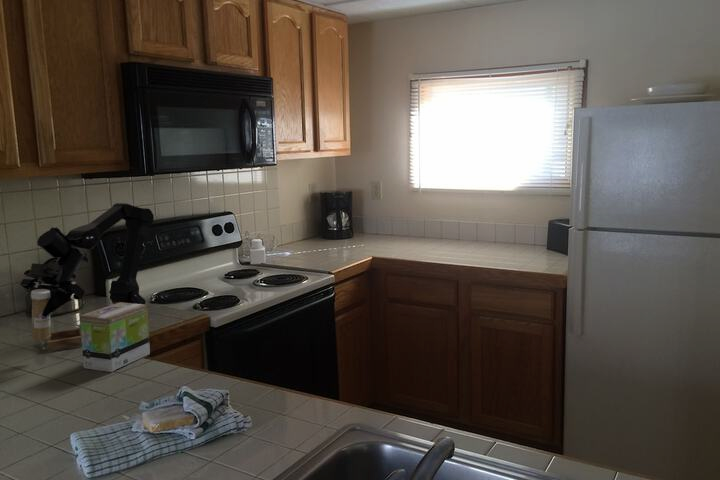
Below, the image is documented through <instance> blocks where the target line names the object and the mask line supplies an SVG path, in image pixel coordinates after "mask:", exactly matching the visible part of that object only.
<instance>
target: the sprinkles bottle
mask: <svg viewBox="0 0 720 480" xmlns="http://www.w3.org/2000/svg"><path fill="white" fill-rule="evenodd" d="M50 297H51V291H49V290H48V289H36V290H33V291H31V293H30V299H31V301H32V315H31V323H32V324H31V326H32V339H33V340H36V341H44V340H45V341H46V339H48V338H50V337H51V334H50V333H51V313H50V314H49V315H47V316H46V317H44V316H43V315H42V313H43V311H44V309H45V307H46V305H47V303H48V301H49V299H50Z"/></svg>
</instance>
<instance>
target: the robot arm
mask: <svg viewBox="0 0 720 480" xmlns="http://www.w3.org/2000/svg"><path fill="white" fill-rule="evenodd" d="M154 219H155V218H154V213H153V211H152V210H151V209H150V208H146V207H145V208H144V207H143V208H142V207H138V206H135V205H132V204H129V203H127V202H126V203H125V202H120V203H119V202H117V203H114V204H113V205H112V206H111V207H110V208H108V209H107V210H106V211H105V212H103V213H102V214H100V215H99V216H98V217H96V218H95V219H94V220H92V221H91V222H89V223H86V224H84V225H81V226H78V227H75V228H72V229H71V230H69V231H68V233H67V234H66V235H65V234H64V233H63V232H62V231H61V229H60V228H58V227H50V229H49V230H47V231H45V232H44V233H42V234H41V235H40V236H39V237H38V239H37V242H36V243H37V246H39V248H41V249H42V250H43V251H44V252H45V253H47V254H48V255H49V256H51V257H52V258H54V259H56V261H55V262H53V261H50V262H48V264H46V263H31V266H30V271H29V276H36V277H38V278H39V279H37V278H34V277H26V278H23V279H22V281H21V282H20V284H19V286H20V287H21V288H23V289H24V290H25V291H27V292H28V293H30V294H31V291H33V290H36V289H48V290H49V291H50V297H49V301H48V303H47V305H46V307H45V309H44V311H43V313H42V315H43V316H44V317H46V316H47V315H49V314H50V315H51V313H54V311H56V310H58V309H59V308H60V307H62V306H64V305H66V304H67V303H69V302H72V300H73V299H74V300H81V301H82V300H83V299H84V297H85V295H86V290H85V288H83V287H82V286H81V285H80V284H79V283H78V282H76V281H74V280H76V279H77V275H76V274H75V273H76V272H77V269H78V267H79V266H80V264H81V263H89V258H88V256H87V253H86V252H82V251H81V250H92V249H94V248H95V246H96V245H97V244H98V243H99V242H100V241H101V238H102V235H103V234H104V233H106V232H107V231H108V230H110V229H111V228H113V227H114V226H115V225H116V224H117V223H119V222H120V221H122V220H123V221H125V223H124V225H125V228H126V231H127V238H126V239H127V240H126V244H125V249H124V253H123V259H122V265H121V269H120V273H119V277H118V278H117V279H116V280H112V281H111V283H110V289H109V292H108V294H109V300H110V301H111V304H112V305H113V304H116V303H119V302H122V303H133V304H144V305H146V303H147V301H146V299H145V298H144V297H142V295H141V294H140V286H139V283H138V281H137V275H138V270H139V265H140V260H141V255H142V250H143V245H144V239H145V237H146V235H147V234H148V232H149V231H150V230H151V228H152V225H153V222H154ZM71 297H73V299H72V298H71ZM29 315H30V316H32V300H31V302H30V307H29Z"/></svg>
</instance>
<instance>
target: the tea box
mask: <svg viewBox="0 0 720 480" xmlns="http://www.w3.org/2000/svg"><path fill="white" fill-rule="evenodd" d="M148 316H149V315H148V304H145V305H144V304H133V303H122V302H119V303H116V304H113V303H112V304H111V305H108V306H105V307H101V308H98V309H95V310H93V311H90V312H86V313H84V314H80V315H79V321H80V322H79V323H80V328H81V339H82V346H81V351H82V362H83V365H82V366H83V368H84V369H87V370H93V371H101V372H109V373H113V372H115V371H116V370H117V369H120V368H122V367H125V366H126V365H129V364H131V363H133V362H135V361H137V360H140V359H142V358H144V357H147V356H149V355H150V354H151V350H150V349H151V348H150V346H151V345H150V344H151V343H150V332H149V320H148Z"/></svg>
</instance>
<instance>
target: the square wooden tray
mask: <svg viewBox="0 0 720 480" xmlns="http://www.w3.org/2000/svg"><path fill="white" fill-rule="evenodd" d="M50 334H51V337H50V338H48V339H45V342H46V347H47V351H48V353H51V352H57V351H63V350H68V349H73V348H74V349H75V348H82V339H81V327H79V328H78V327H77V328H72V329H66V330H65V329H64V330H60V331H53V332H50Z"/></svg>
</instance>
